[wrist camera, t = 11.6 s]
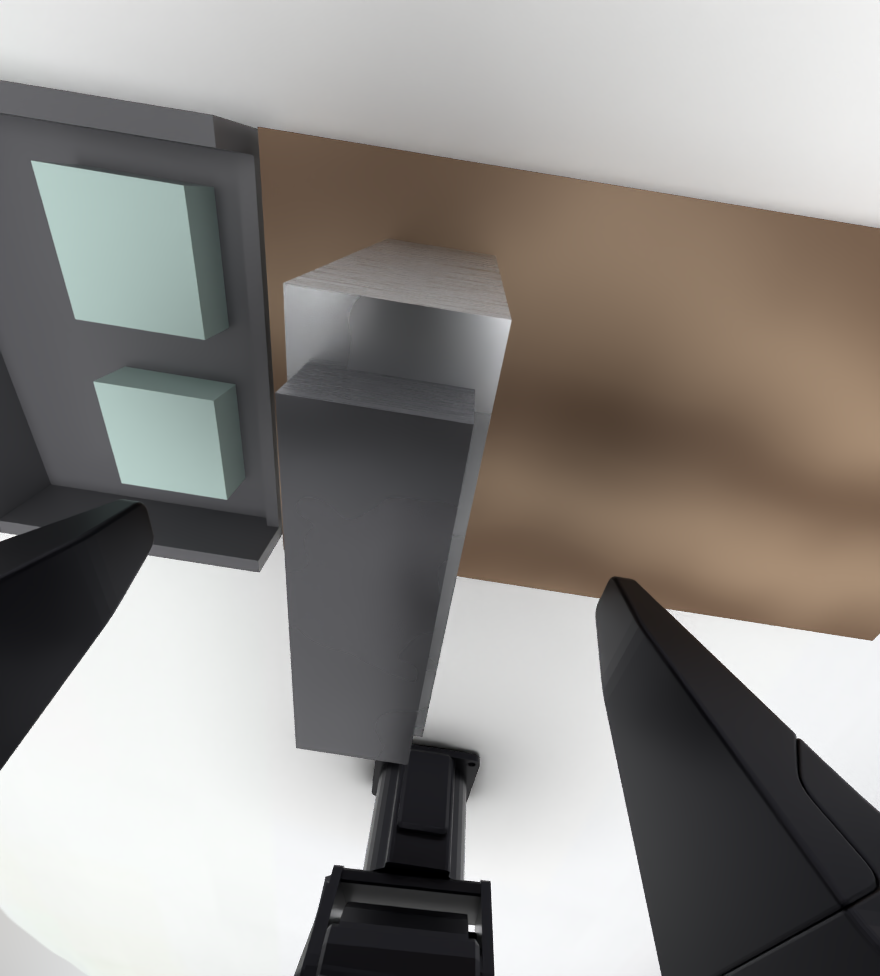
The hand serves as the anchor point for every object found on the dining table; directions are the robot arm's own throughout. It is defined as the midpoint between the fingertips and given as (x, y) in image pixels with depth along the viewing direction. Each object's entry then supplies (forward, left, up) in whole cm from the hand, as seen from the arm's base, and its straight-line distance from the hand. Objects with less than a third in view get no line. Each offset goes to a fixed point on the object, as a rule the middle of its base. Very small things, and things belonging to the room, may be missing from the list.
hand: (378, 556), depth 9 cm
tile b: (+3, +9, -9) cm, 13 cm away
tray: (0, +11, -9) cm, 14 cm away
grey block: (0, 0, -8) cm, 8 cm away
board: (0, -8, -9) cm, 12 cm away
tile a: (-3, +9, -9) cm, 13 cm away
